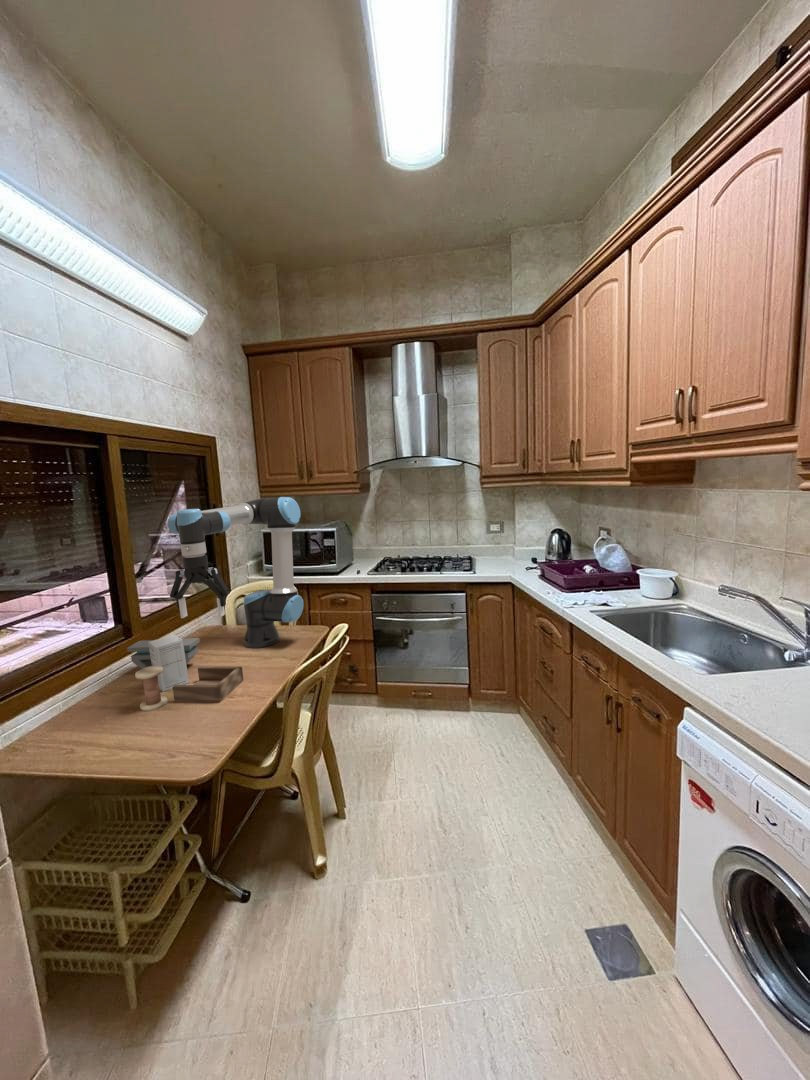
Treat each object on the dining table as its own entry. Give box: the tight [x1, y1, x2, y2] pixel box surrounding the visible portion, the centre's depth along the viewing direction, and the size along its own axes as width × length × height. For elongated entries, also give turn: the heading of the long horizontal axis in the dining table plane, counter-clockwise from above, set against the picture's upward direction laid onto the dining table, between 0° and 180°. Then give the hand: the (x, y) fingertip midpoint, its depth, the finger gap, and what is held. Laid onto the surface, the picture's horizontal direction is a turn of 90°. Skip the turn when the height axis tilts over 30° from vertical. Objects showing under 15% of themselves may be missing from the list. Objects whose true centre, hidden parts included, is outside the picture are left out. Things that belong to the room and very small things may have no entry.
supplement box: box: [148, 634, 190, 693], centre depth 164 cm, size 10×9×17 cm
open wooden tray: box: [172, 666, 244, 703], centre depth 157 cm, size 16×16×5 cm
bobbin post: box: [134, 666, 169, 712], centre depth 149 cm, size 8×8×12 cm
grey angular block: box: [126, 637, 201, 670], centre depth 179 cm, size 25×8×11 cm, turn 88°
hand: (203, 616), depth 154 cm, fingers open, 13 cm apart
